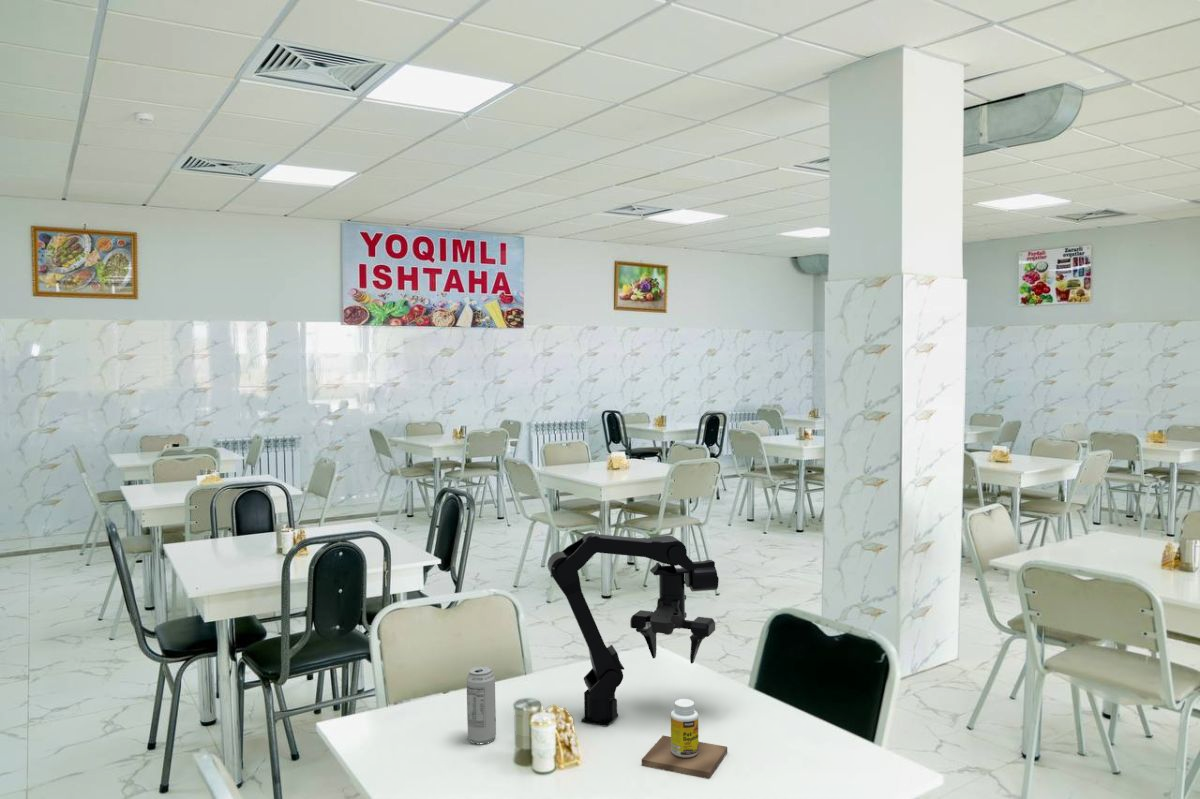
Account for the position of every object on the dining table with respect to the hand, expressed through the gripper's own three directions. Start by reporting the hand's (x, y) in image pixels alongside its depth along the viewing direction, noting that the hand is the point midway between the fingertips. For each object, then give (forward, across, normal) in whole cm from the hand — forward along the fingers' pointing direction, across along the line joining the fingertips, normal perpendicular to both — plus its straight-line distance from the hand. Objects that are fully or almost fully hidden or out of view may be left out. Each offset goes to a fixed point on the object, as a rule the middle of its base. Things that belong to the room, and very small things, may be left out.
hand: (672, 660), depth 193 cm
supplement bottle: (+11, +10, -21) cm, 26 cm away
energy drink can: (+12, -33, -29) cm, 46 cm away
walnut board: (+12, +10, -21) cm, 26 cm away
